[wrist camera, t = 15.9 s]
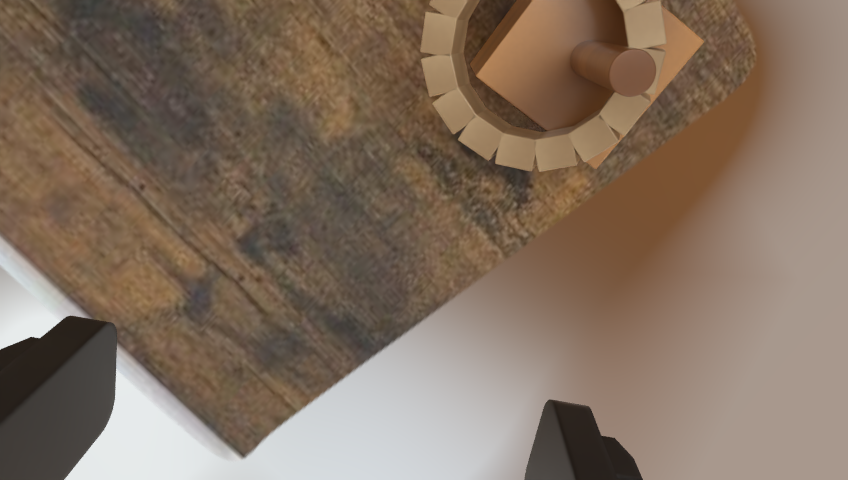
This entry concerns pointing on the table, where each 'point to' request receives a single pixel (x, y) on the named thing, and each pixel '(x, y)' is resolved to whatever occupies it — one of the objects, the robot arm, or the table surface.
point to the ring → (520, 144)
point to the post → (574, 60)
